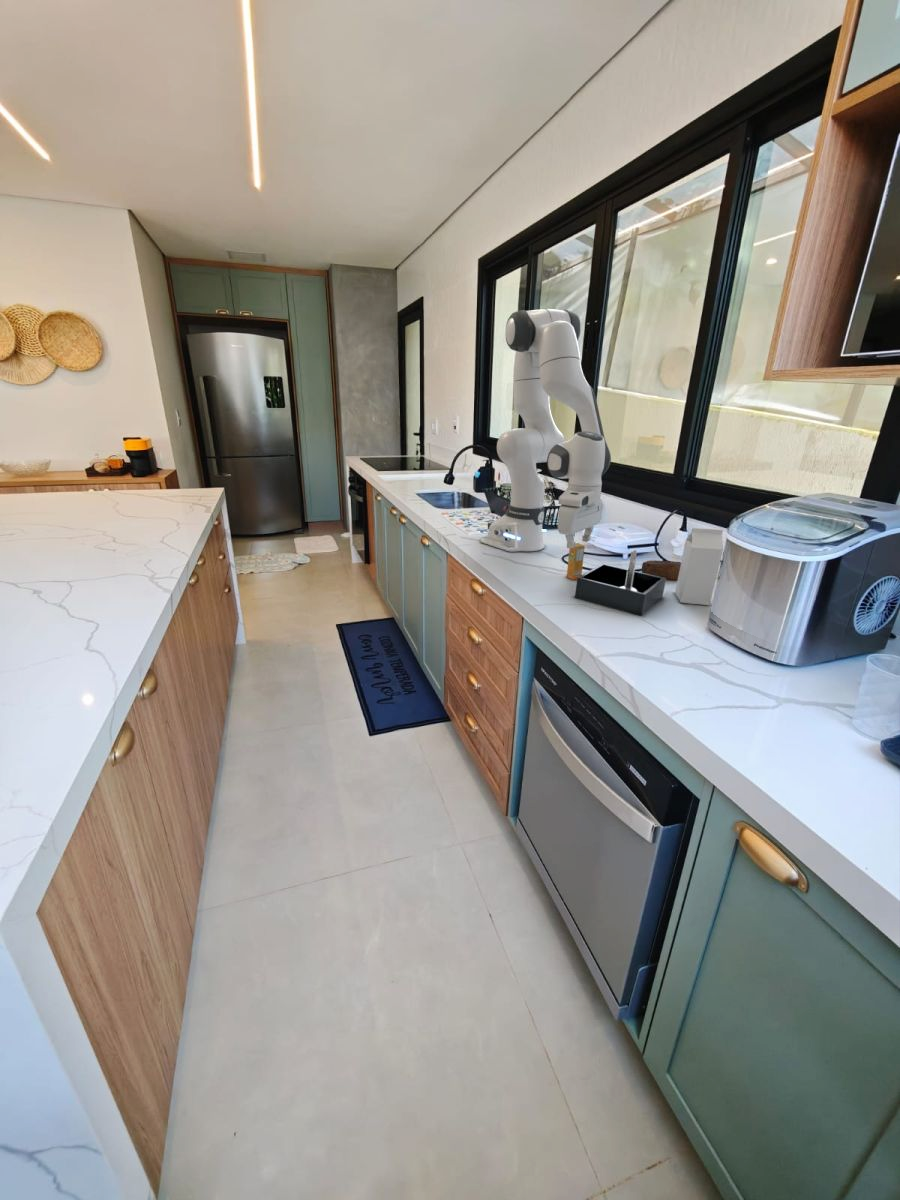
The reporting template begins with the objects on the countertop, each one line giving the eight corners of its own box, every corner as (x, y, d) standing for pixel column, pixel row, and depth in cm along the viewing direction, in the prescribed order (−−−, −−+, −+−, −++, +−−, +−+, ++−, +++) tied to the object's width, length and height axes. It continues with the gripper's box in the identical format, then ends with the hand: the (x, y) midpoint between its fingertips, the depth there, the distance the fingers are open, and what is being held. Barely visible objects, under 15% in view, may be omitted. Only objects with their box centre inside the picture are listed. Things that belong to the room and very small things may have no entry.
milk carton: (709, 605, 128) (727, 533, 121) (680, 603, 130) (695, 531, 122) (702, 595, 135) (718, 526, 128) (674, 593, 136) (689, 524, 129)
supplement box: (565, 576, 147) (568, 543, 143) (574, 575, 148) (578, 542, 144) (572, 580, 144) (576, 546, 140) (581, 578, 145) (586, 545, 141)
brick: (677, 576, 149) (680, 561, 147) (681, 580, 145) (684, 565, 144) (640, 573, 151) (643, 558, 149) (642, 578, 147) (645, 562, 145)
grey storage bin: (574, 597, 132) (577, 577, 130) (599, 582, 143) (602, 563, 141) (641, 616, 122) (645, 594, 120) (662, 597, 133) (666, 578, 131)
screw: (636, 595, 132) (636, 602, 128) (616, 593, 134) (616, 599, 130) (644, 548, 127) (644, 553, 123) (624, 546, 129) (624, 551, 125)
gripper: (589, 489, 146) (584, 535, 151) (555, 498, 131) (551, 549, 136) (610, 491, 142) (604, 539, 147) (577, 501, 127) (572, 554, 133)
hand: (578, 544), depth 142 cm, fingers open, 8 cm apart
